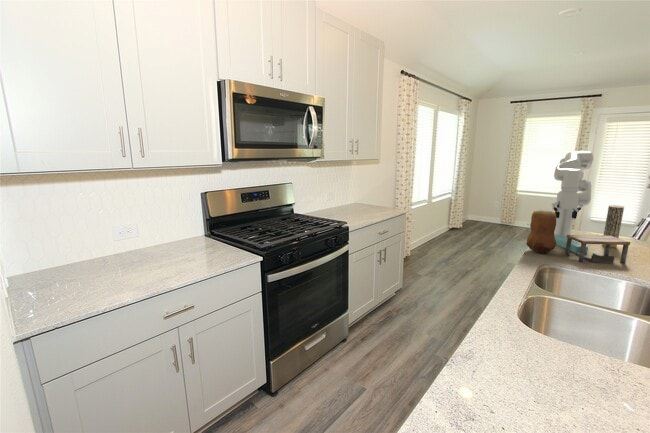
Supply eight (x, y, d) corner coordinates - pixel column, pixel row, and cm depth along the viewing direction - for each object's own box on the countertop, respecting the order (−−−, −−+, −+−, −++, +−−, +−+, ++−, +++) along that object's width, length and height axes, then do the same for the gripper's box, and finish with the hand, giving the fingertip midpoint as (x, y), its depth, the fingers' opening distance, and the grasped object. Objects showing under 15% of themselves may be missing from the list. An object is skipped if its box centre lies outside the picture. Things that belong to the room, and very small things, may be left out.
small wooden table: (564, 254, 175) (567, 234, 172) (606, 255, 172) (610, 235, 170) (580, 262, 162) (583, 241, 160) (626, 263, 160) (630, 242, 157)
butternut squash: (545, 249, 184) (551, 207, 179) (559, 256, 171) (566, 212, 166) (520, 248, 186) (525, 207, 181) (533, 255, 173) (539, 211, 168)
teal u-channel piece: (552, 242, 198) (553, 236, 197) (562, 242, 197) (563, 236, 197) (575, 253, 177) (576, 246, 176) (587, 253, 176) (588, 246, 175)
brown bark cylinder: (619, 248, 186) (627, 206, 181) (608, 248, 186) (615, 206, 181) (609, 244, 192) (617, 205, 188) (598, 244, 193) (605, 205, 188)
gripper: (580, 189, 190) (576, 217, 193) (550, 189, 192) (546, 216, 195) (589, 191, 183) (584, 219, 186) (558, 190, 184) (553, 218, 188)
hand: (565, 218), depth 190 cm, fingers open, 9 cm apart
